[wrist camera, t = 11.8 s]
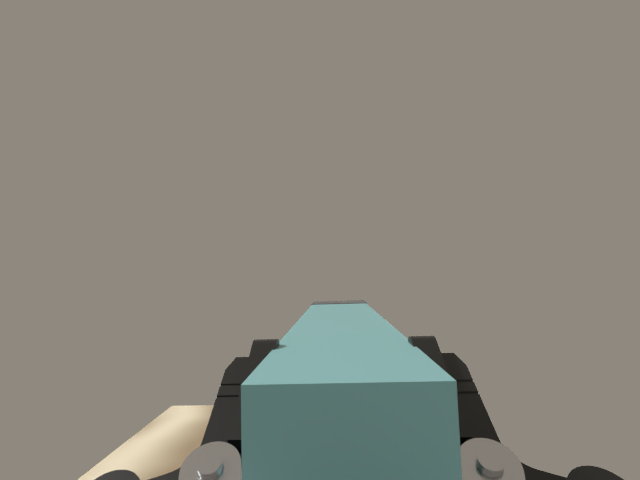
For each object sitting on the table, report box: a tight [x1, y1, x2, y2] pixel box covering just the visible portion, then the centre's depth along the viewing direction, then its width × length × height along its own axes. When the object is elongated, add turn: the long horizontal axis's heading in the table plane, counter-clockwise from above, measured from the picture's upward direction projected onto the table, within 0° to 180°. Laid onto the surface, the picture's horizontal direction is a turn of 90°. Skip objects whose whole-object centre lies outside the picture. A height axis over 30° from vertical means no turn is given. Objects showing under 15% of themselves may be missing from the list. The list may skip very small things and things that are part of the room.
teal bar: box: [241, 300, 462, 480], centre depth 20 cm, size 4×26×4 cm, turn 178°
